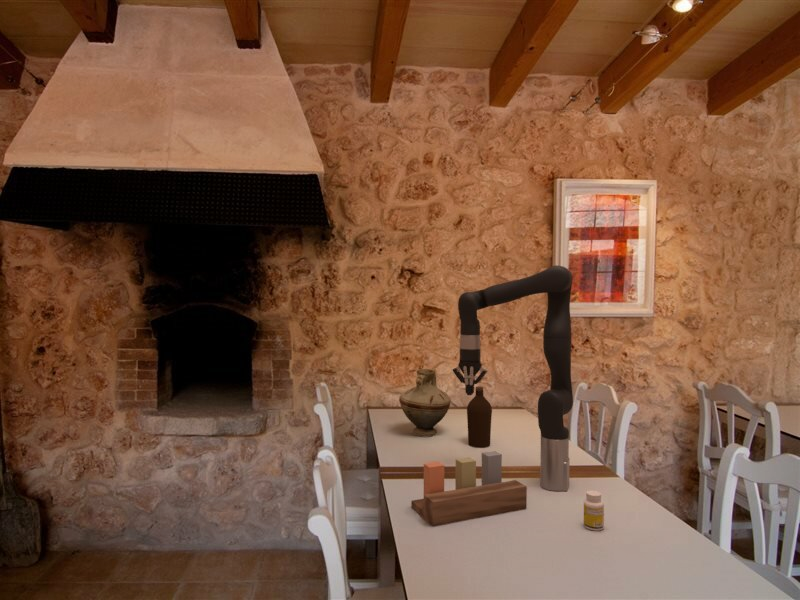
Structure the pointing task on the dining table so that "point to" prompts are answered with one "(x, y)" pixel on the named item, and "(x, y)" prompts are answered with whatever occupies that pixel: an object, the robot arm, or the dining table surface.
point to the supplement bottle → (593, 511)
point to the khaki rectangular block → (465, 473)
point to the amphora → (425, 403)
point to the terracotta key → (433, 477)
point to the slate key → (491, 468)
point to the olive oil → (479, 420)
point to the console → (471, 502)
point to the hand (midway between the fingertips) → (469, 394)
